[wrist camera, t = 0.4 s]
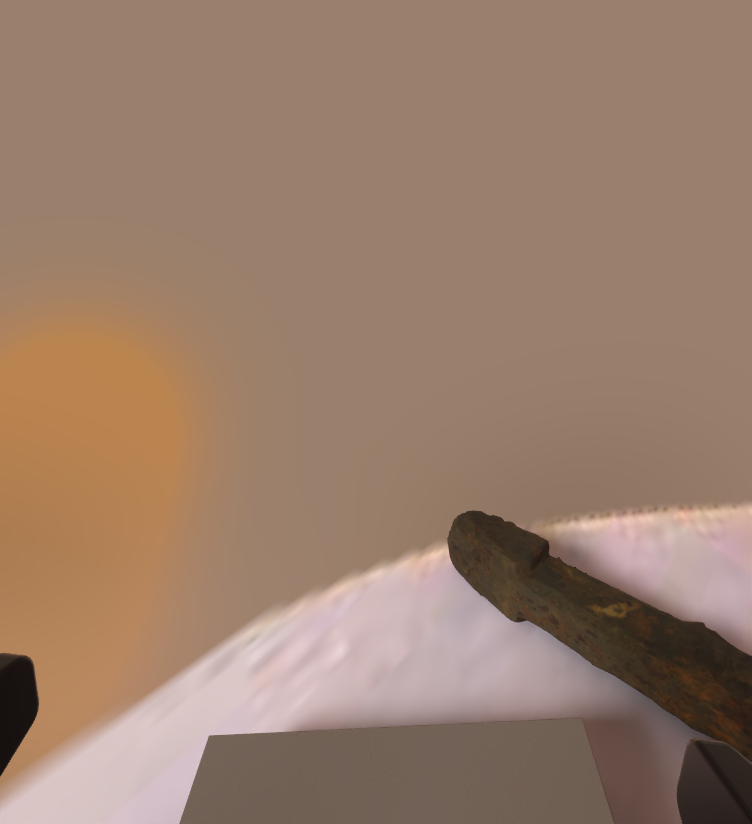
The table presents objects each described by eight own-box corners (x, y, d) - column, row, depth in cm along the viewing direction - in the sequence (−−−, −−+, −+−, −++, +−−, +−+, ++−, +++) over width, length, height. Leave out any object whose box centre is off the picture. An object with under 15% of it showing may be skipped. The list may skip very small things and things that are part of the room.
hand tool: (876, 774, 20) (909, 682, 18) (834, 857, 18) (866, 763, 16) (484, 545, 35) (480, 481, 33) (437, 577, 33) (429, 511, 31)
